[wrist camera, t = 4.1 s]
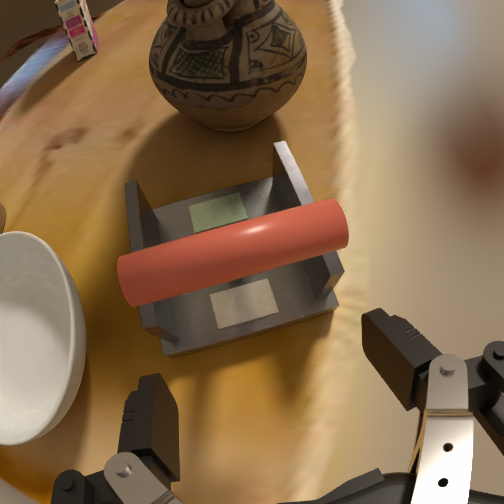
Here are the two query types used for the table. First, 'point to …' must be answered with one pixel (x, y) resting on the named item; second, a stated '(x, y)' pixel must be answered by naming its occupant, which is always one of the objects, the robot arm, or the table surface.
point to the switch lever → (232, 252)
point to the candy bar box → (78, 27)
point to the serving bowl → (37, 338)
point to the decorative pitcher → (227, 60)
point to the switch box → (240, 290)
